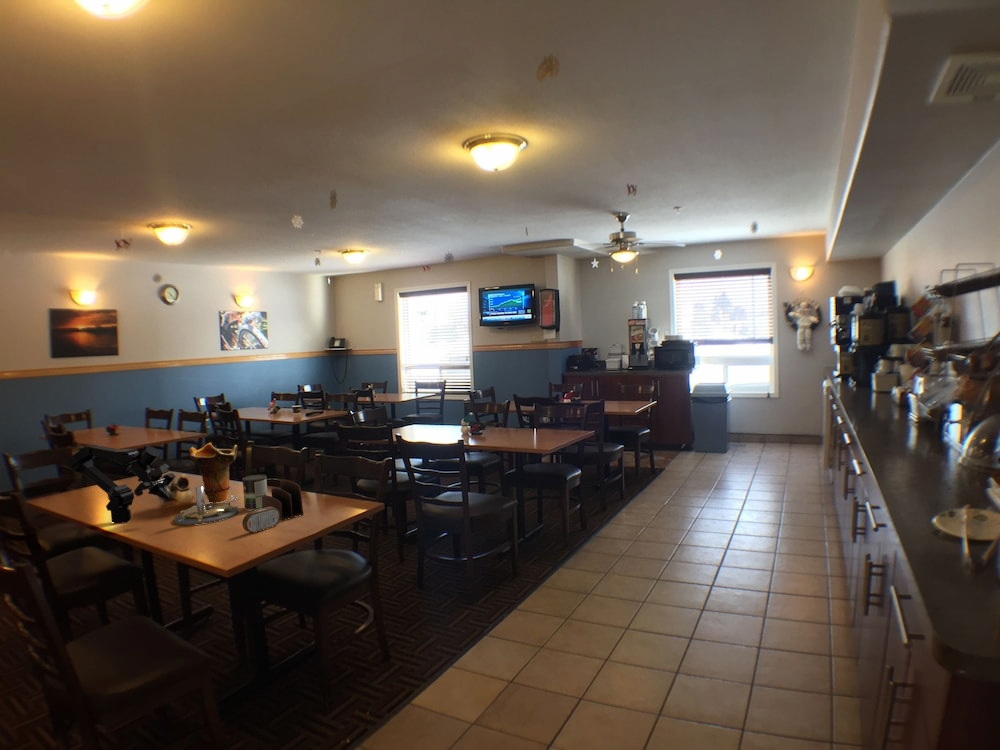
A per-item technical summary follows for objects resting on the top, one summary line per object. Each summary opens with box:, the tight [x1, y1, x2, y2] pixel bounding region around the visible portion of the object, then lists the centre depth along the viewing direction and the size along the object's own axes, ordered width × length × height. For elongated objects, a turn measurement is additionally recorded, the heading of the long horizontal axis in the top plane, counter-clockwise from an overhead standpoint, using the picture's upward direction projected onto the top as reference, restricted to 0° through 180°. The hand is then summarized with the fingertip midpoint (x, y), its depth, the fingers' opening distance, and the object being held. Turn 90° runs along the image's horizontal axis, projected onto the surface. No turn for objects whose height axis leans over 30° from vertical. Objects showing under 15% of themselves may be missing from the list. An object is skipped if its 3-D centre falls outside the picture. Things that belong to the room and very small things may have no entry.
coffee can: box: [242, 474, 269, 511], centre depth 270 cm, size 10×10×14 cm
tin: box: [242, 507, 281, 534], centre depth 237 cm, size 15×3×8 cm, turn 141°
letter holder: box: [262, 479, 304, 521], centre depth 258 cm, size 10×20×14 cm, turn 44°
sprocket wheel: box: [179, 485, 234, 519], centre depth 259 cm, size 21×21×13 cm
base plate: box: [174, 504, 239, 526], centre depth 260 cm, size 25×25×2 cm
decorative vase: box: [189, 442, 238, 503], centre depth 285 cm, size 21×23×28 cm
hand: (168, 498), depth 254 cm, fingers closed
